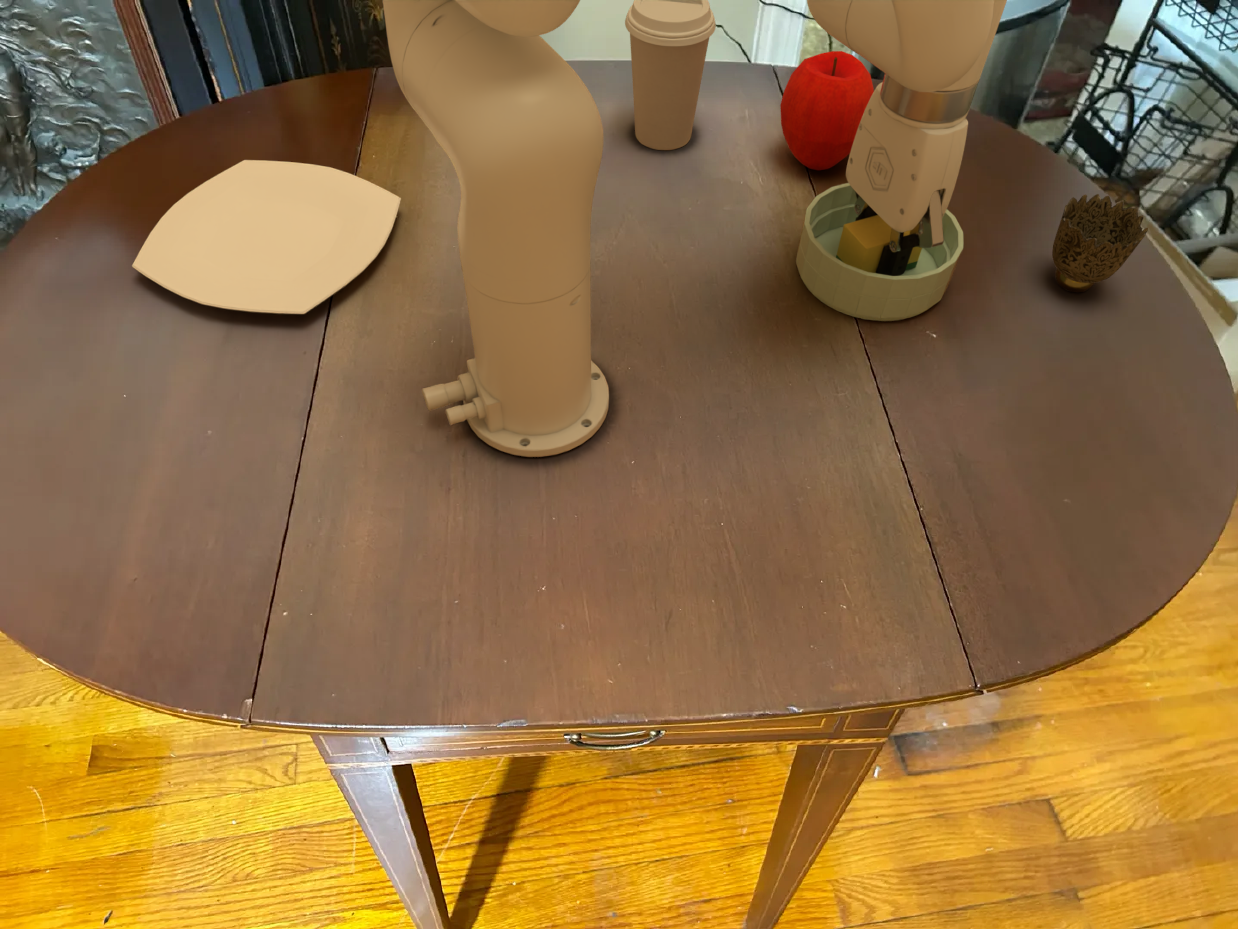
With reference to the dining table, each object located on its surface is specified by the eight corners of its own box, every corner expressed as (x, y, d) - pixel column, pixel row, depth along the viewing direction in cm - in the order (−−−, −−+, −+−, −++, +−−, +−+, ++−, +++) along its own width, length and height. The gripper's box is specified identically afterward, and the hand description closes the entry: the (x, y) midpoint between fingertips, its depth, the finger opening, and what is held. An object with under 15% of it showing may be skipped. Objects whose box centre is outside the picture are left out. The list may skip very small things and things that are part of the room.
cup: (1114, 313, 88) (1154, 247, 82) (1036, 302, 89) (1070, 235, 83) (1105, 265, 93) (1142, 198, 86) (1030, 254, 94) (1062, 187, 87)
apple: (788, 127, 107) (807, 24, 98) (869, 149, 105) (897, 45, 95) (759, 170, 102) (776, 66, 92) (844, 195, 99) (870, 90, 90)
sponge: (856, 285, 89) (866, 248, 85) (834, 260, 91) (843, 223, 88) (915, 267, 91) (928, 230, 87) (893, 243, 93) (904, 206, 89)
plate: (243, 160, 101) (238, 144, 99) (432, 205, 96) (429, 189, 95) (105, 289, 87) (96, 273, 86) (317, 349, 83) (312, 333, 81)
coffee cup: (718, 128, 107) (733, -3, 95) (678, 167, 102) (689, 34, 90) (649, 103, 110) (655, -26, 98) (606, 140, 105) (607, 8, 93)
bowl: (846, 340, 85) (859, 295, 81) (768, 245, 94) (776, 200, 89) (976, 300, 89) (996, 255, 85) (890, 212, 97) (904, 168, 93)
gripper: (836, 50, 80) (800, 222, 94) (950, 151, 71) (891, 325, 85) (907, 34, 82) (861, 205, 96) (1028, 131, 73) (957, 304, 87)
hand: (875, 260), depth 91 cm, fingers closed on sponge, 4 cm apart
